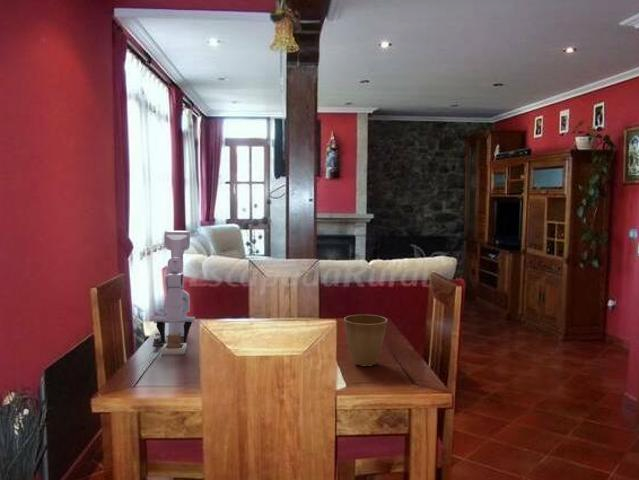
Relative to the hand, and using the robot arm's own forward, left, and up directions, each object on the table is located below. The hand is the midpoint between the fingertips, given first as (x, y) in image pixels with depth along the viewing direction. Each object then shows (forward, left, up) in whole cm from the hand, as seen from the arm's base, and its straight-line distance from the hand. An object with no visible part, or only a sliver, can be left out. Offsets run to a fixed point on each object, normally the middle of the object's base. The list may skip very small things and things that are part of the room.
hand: (174, 342), depth 193 cm
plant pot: (+18, +68, -4) cm, 70 cm away
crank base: (-11, -5, -4) cm, 12 cm away
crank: (-7, -7, -2) cm, 10 cm away
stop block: (0, 0, -3) cm, 3 cm away
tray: (0, 0, -3) cm, 3 cm away
